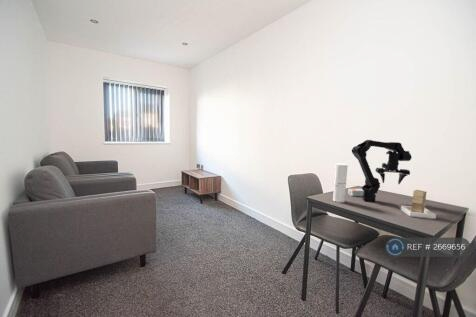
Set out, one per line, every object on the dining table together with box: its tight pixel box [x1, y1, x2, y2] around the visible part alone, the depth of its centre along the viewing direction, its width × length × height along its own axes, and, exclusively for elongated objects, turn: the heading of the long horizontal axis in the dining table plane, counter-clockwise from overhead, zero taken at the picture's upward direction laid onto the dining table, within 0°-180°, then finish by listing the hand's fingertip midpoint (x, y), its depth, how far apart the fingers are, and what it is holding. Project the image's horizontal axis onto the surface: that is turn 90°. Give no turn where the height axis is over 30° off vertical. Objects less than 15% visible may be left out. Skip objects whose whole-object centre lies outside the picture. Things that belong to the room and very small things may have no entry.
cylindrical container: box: [332, 162, 349, 203], centre depth 151 cm, size 7×7×25 cm
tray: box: [400, 205, 437, 220], centre depth 130 cm, size 12×12×3 cm
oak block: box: [411, 189, 427, 213], centre depth 129 cm, size 4×4×13 cm
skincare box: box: [347, 188, 364, 197], centre depth 167 cm, size 6×4×12 cm
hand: (390, 183), depth 154 cm, fingers open, 9 cm apart
